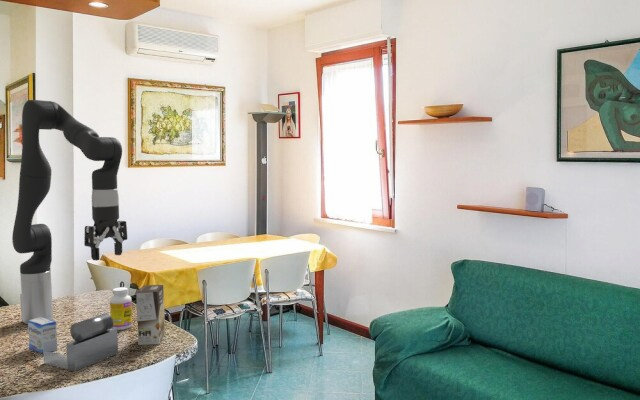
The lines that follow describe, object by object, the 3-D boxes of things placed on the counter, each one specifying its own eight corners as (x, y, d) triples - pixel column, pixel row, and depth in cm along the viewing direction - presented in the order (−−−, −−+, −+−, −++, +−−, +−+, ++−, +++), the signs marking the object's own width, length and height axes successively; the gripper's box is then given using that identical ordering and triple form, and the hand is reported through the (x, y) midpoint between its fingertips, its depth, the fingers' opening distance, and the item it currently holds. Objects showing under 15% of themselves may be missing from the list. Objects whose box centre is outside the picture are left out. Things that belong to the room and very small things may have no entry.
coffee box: (159, 344, 166) (157, 291, 164) (137, 345, 165) (135, 292, 164) (165, 334, 175) (163, 284, 173) (144, 335, 174) (142, 284, 173)
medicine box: (28, 349, 163) (27, 320, 163) (43, 344, 167) (42, 316, 166) (43, 354, 159) (41, 324, 158) (58, 349, 162) (56, 320, 162)
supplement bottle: (125, 331, 179) (123, 291, 178) (107, 330, 180) (105, 291, 179) (136, 324, 185) (134, 286, 184) (118, 323, 186) (116, 286, 185)
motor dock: (44, 363, 152) (41, 320, 151) (87, 346, 165) (85, 307, 163) (78, 371, 146) (75, 327, 145) (120, 353, 158) (118, 312, 157)
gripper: (114, 201, 174) (116, 252, 176) (76, 205, 162) (78, 260, 163) (132, 202, 171) (134, 254, 173) (95, 207, 158) (97, 263, 160)
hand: (107, 257), depth 168 cm, fingers open, 8 cm apart
